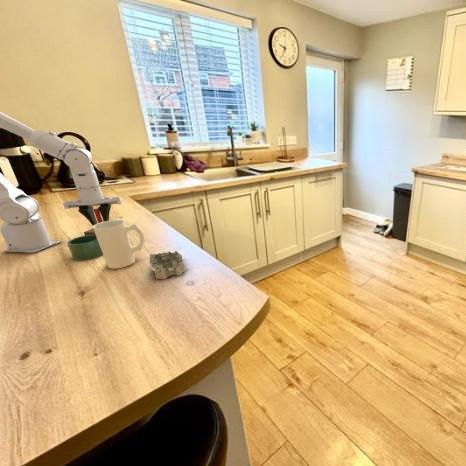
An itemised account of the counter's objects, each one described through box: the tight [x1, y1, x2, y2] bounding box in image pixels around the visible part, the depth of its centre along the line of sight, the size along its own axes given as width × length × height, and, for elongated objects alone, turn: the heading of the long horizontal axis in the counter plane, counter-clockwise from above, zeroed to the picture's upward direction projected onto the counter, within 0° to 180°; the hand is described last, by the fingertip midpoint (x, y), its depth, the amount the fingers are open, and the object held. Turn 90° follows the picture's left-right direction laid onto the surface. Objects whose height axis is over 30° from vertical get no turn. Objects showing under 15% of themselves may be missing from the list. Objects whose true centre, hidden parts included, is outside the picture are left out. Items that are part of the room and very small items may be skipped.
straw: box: [93, 208, 103, 223], centre depth 97 cm, size 1×1×10 cm
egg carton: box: [149, 250, 186, 280], centre depth 78 cm, size 11×8×4 cm
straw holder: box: [83, 228, 96, 236], centre depth 98 cm, size 7×7×3 cm
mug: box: [92, 219, 145, 270], centre depth 80 cm, size 10×7×12 cm, turn 129°
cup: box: [67, 235, 104, 261], centre depth 85 cm, size 7×7×5 cm
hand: (101, 226), depth 97 cm, fingers closed
